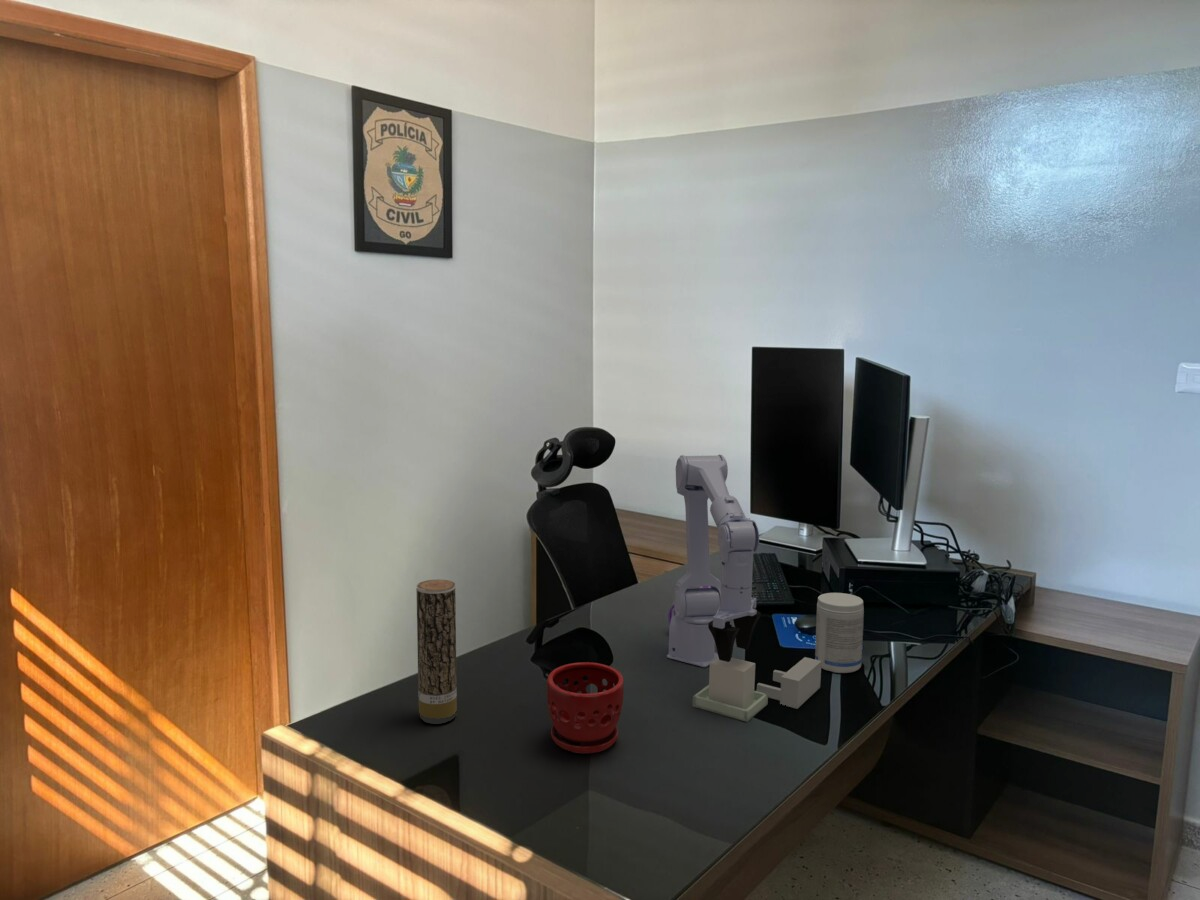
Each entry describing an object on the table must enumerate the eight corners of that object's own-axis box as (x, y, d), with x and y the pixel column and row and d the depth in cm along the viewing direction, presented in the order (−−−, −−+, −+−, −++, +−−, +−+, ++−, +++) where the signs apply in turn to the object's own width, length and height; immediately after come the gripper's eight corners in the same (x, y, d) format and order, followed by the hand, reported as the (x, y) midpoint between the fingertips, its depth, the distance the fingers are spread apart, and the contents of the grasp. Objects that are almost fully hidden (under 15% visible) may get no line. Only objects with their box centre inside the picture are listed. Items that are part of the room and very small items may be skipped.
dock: (753, 696, 171) (754, 669, 170) (777, 676, 181) (778, 651, 180) (797, 708, 166) (798, 681, 165) (820, 687, 176) (821, 661, 175)
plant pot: (532, 738, 153) (532, 672, 151) (592, 718, 161) (593, 655, 159) (576, 769, 143) (576, 699, 141) (638, 746, 150) (639, 679, 149)
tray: (692, 706, 166) (692, 696, 166) (714, 689, 174) (715, 680, 173) (747, 722, 160) (747, 711, 160) (767, 704, 168) (768, 694, 167)
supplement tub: (870, 668, 185) (874, 601, 183) (839, 678, 180) (843, 609, 178) (835, 653, 193) (838, 589, 191) (804, 662, 188) (807, 596, 186)
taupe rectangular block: (705, 702, 167) (706, 662, 165) (717, 693, 171) (718, 654, 170) (742, 713, 162) (744, 671, 161) (753, 703, 167) (755, 663, 165)
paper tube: (463, 713, 162) (462, 581, 158) (445, 729, 156) (443, 592, 152) (430, 707, 164) (428, 577, 161) (411, 722, 158) (409, 588, 154)
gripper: (739, 598, 156) (736, 671, 158) (772, 579, 168) (769, 647, 170) (703, 591, 160) (701, 662, 162) (738, 572, 172) (735, 639, 174)
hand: (733, 654), depth 166 cm, fingers open, 7 cm apart
